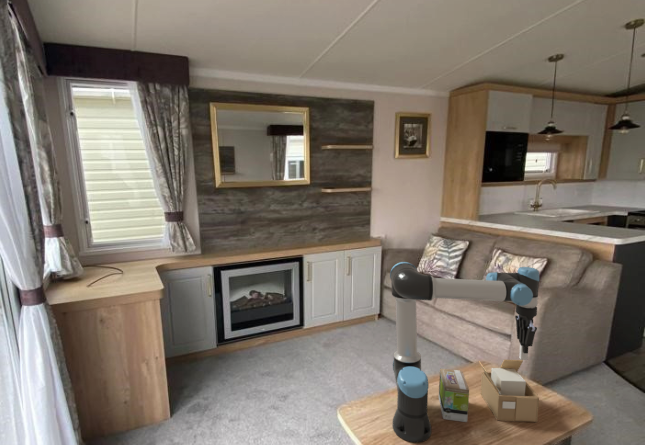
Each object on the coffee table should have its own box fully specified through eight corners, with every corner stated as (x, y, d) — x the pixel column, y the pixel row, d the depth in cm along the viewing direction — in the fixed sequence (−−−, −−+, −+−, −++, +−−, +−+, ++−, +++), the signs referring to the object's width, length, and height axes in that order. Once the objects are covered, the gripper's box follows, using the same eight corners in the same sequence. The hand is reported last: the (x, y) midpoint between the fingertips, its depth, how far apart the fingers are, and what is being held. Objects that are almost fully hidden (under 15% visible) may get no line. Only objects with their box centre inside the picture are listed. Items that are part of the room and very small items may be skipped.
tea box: (468, 422, 141) (469, 389, 139) (442, 419, 143) (444, 386, 141) (461, 400, 156) (462, 369, 154) (438, 397, 158) (439, 367, 156)
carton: (497, 421, 142) (499, 388, 140) (480, 393, 160) (482, 364, 158) (539, 423, 141) (541, 389, 139) (516, 395, 159) (519, 365, 157)
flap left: (498, 391, 143) (498, 392, 143) (490, 379, 152) (489, 379, 152) (487, 371, 142) (486, 372, 142) (479, 360, 151) (478, 361, 151)
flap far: (498, 372, 157) (498, 371, 157) (516, 373, 157) (516, 372, 157) (504, 360, 151) (504, 359, 152) (523, 360, 151) (522, 360, 151)
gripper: (545, 311, 134) (541, 367, 137) (527, 299, 147) (524, 351, 150) (525, 310, 134) (521, 367, 137) (509, 299, 147) (506, 351, 150)
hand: (523, 358), depth 143 cm, fingers closed
